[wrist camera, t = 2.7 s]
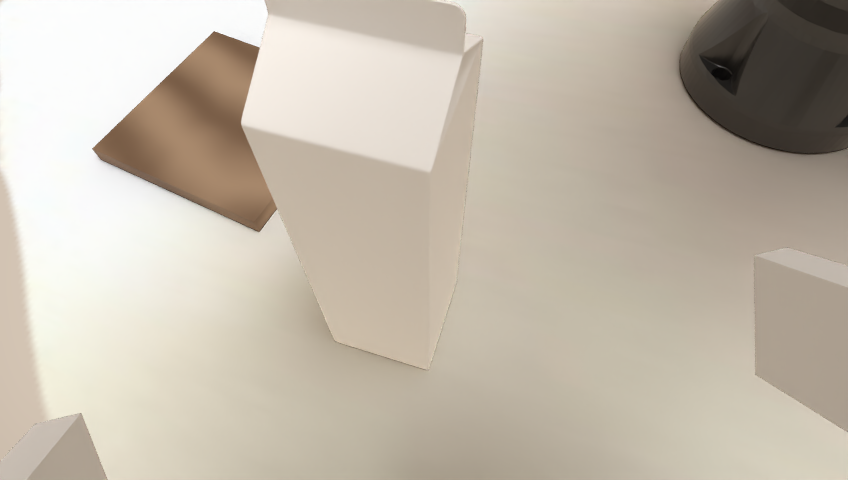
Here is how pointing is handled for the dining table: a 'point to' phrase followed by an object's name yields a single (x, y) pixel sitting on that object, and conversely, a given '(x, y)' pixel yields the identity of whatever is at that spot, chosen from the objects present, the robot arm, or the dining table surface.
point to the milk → (369, 158)
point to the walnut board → (198, 134)
